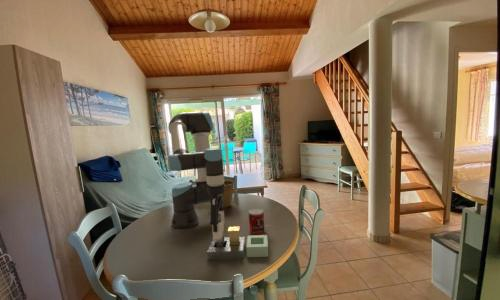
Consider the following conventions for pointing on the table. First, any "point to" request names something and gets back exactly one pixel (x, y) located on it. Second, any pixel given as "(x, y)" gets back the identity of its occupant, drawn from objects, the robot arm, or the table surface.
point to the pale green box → (257, 246)
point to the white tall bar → (220, 241)
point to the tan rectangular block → (234, 236)
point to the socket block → (226, 250)
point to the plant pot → (228, 193)
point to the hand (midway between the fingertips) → (219, 231)
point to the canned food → (256, 221)
